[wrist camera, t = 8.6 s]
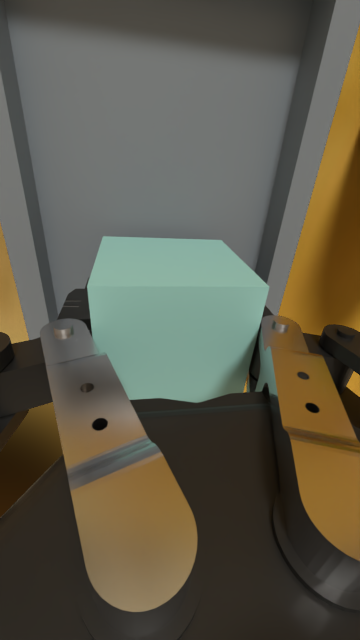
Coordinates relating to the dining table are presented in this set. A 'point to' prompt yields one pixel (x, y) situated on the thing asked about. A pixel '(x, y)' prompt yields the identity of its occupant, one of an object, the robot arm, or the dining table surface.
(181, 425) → the robot arm
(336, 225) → the dining table surface
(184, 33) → the tray
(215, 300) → the teal block
